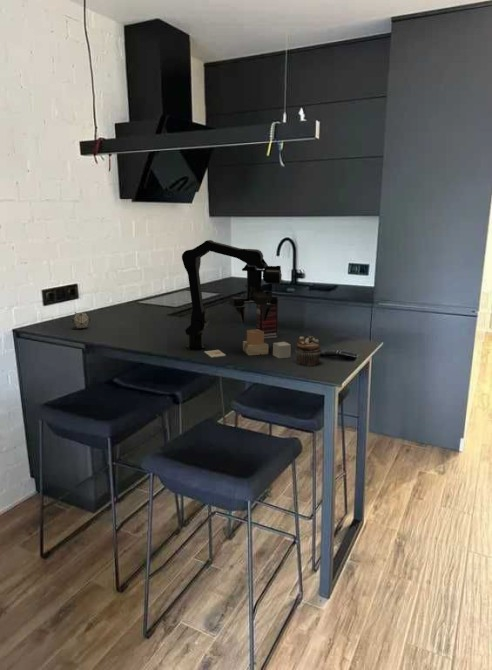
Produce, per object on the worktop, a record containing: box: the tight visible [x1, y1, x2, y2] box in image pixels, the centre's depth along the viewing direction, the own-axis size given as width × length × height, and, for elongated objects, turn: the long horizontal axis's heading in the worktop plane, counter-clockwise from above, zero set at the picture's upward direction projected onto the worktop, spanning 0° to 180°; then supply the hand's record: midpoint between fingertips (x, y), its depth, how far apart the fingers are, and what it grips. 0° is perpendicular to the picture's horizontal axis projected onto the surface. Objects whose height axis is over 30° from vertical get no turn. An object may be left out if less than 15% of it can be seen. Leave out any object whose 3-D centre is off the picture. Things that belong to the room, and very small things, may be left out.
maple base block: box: [242, 340, 269, 356], centre depth 189 cm, size 8×8×4 cm
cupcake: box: [295, 334, 322, 367], centre depth 175 cm, size 10×10×10 cm
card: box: [203, 349, 227, 358], centre depth 185 cm, size 8×6×1 cm
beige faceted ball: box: [71, 311, 91, 330], centre depth 223 cm, size 9×8×10 cm
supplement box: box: [255, 304, 279, 340], centre depth 211 cm, size 9×5×16 cm, turn 113°
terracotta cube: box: [246, 328, 265, 345], centre depth 187 cm, size 5×5×5 cm
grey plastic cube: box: [272, 341, 292, 359], centre depth 183 cm, size 5×5×5 cm
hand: (253, 322), depth 187 cm, fingers open, 9 cm apart
